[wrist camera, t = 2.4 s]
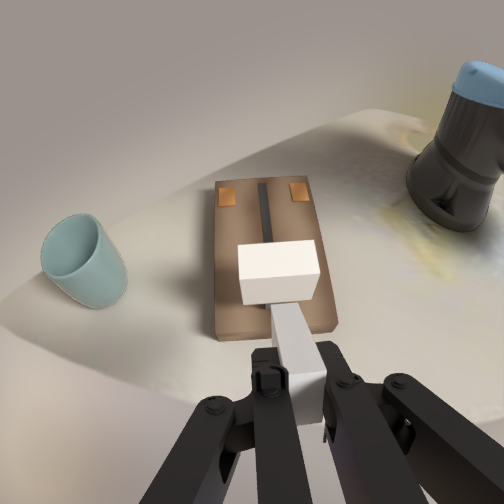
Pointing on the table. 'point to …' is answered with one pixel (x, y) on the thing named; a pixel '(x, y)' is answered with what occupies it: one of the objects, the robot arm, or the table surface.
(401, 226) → the table surface
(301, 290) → the fader knob
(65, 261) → the cup
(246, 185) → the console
